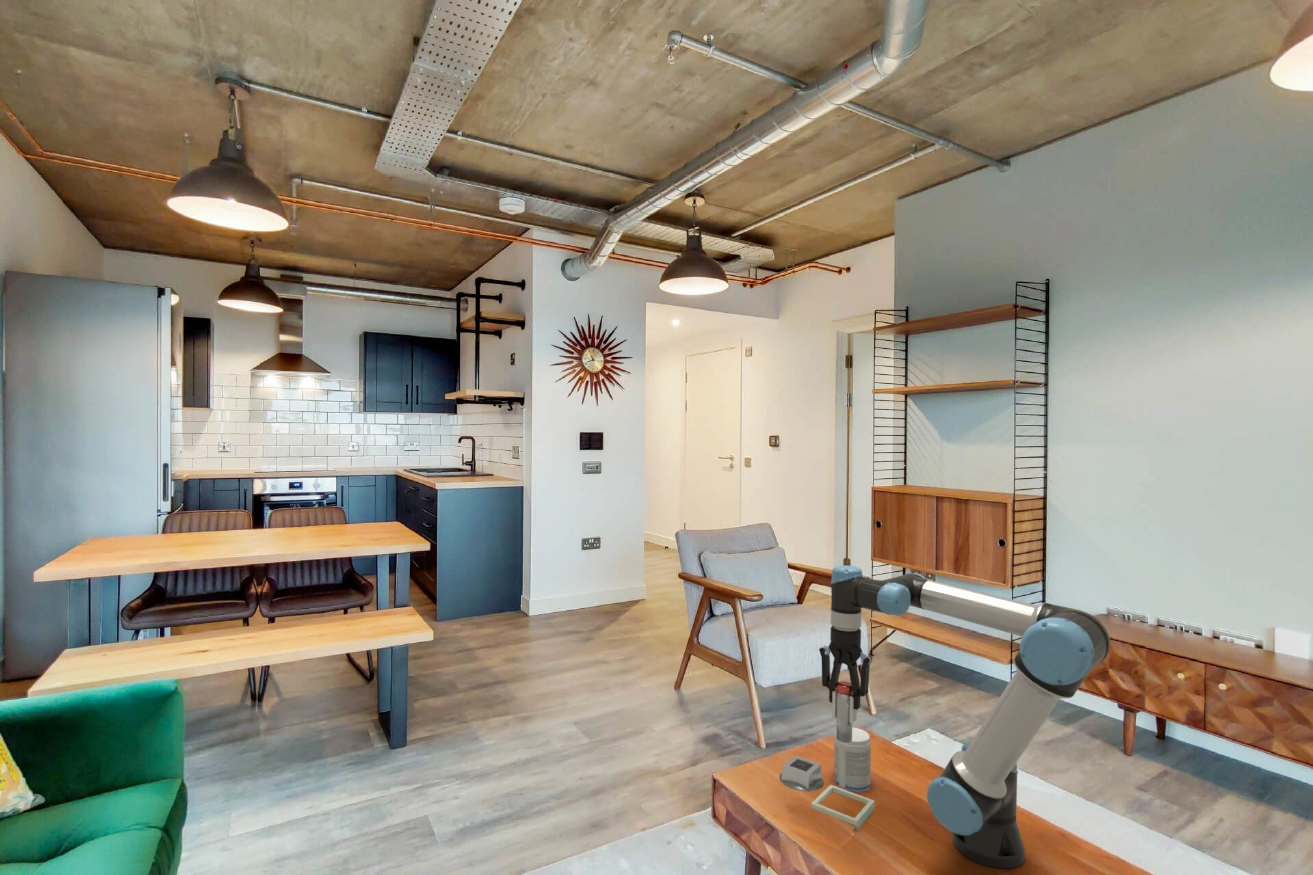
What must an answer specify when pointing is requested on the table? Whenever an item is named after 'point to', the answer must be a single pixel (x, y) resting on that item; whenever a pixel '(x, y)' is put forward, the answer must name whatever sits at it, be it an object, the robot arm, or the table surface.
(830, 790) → the tray
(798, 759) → the grey socket fixture
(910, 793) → the table surface
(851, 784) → the supplement tub
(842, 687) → the red capped bottle
